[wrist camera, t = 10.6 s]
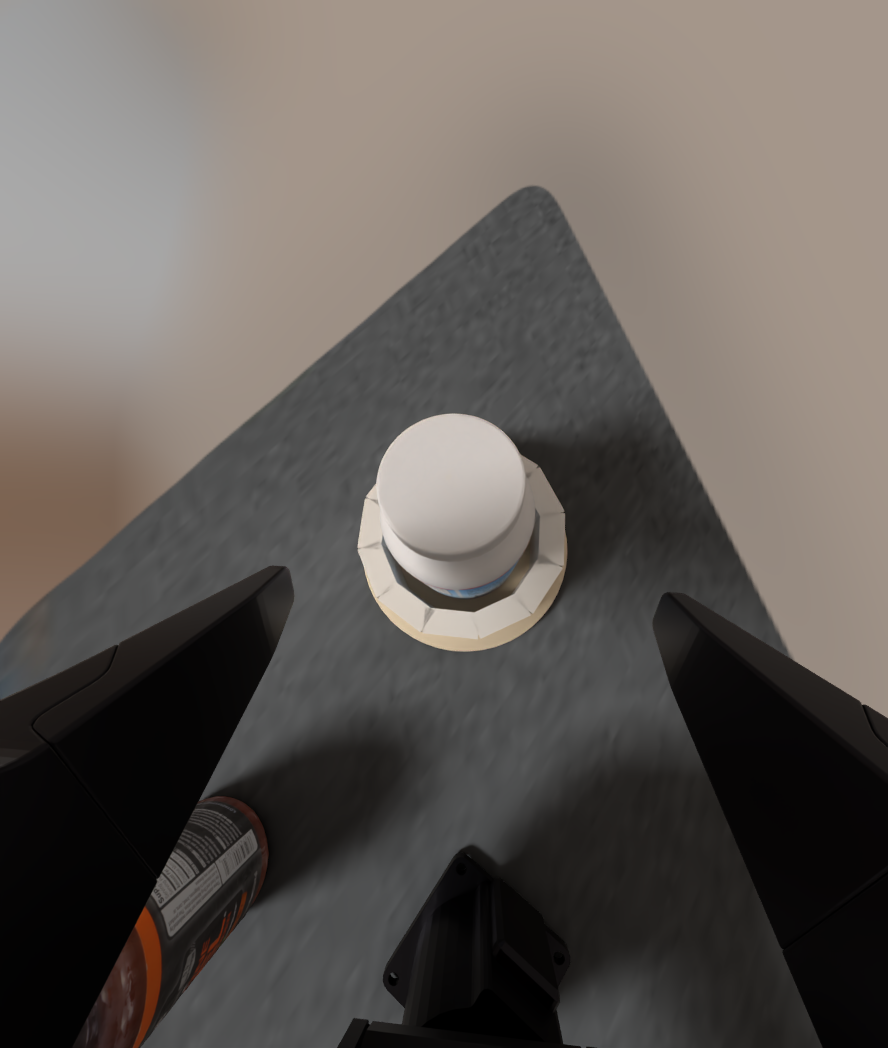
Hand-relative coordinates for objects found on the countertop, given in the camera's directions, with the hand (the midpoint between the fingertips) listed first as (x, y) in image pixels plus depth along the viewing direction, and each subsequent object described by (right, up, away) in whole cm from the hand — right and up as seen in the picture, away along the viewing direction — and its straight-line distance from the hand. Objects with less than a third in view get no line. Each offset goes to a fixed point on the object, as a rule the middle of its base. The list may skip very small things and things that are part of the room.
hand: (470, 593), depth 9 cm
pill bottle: (+1, 0, +13) cm, 13 cm away
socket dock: (+1, 0, +14) cm, 14 cm away
